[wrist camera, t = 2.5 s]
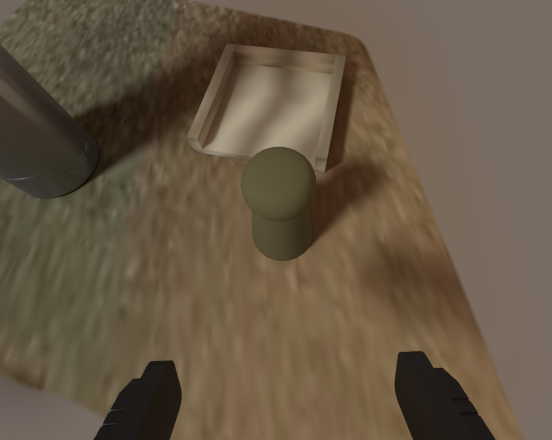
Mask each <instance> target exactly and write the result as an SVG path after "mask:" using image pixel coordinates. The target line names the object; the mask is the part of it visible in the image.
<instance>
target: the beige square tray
mask: <svg viewBox="0 0 552 440" xmlns="http://www.w3.org/2000/svg"><path fill="white" fill-rule="evenodd" d="M345 60H346V56H343V55H334V54H324V53H315V52H305V51H295V50H286V49H276V48H267V47H257V46H247V45H238V44H228V43H227V44H226V46H225V49H224V51H223V53H222V56H221V58H220V60H219V63H218V65H217V68H216V70H215V72H214V75H213V77H212V79H211V82H210V84H209V86H208V89H207V91H206V93H205V96H204V98H203V100H202V103H201V105H200V108H199V110H198V112H197V115H196V117H195V119H194V122H193V124H192V126H191V129H190V131H189V133H188V136H187V139H188V141H189V143H190V145H191V146H192V148H193V150H194V152H199V153H205V154H211V155H217V156H224V157H230V158H236V159H242V160H250V159H251V158H252V157H253V156H254V155H255V154H257V153H259V152H260V151H262V150H264V149H267V148H271V147H287V148H290V149H294V150H295V151H297V152H299V153H300V154H302V155H303V156H305V157H306V158H307V160H308V161H309V162H310V163H311V165H312V167H313V170H314V171H317V172H323V173H325V167H326V162H327V157H328V152H329V146H330V141H331V135H332V130H333V125H334V119H335V114H336V108H337V103H338V98H339V92H340V87H341V81H342V76H343V71H344V65H345Z"/></svg>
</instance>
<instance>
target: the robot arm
mask: <svg viewBox="0 0 552 440" xmlns="http://www.w3.org/2000/svg"><path fill="white" fill-rule="evenodd" d="M98 158H99V148H98V146H97V143H96V142H95V140H94V139H93V138H92V137H91V136H90V135H89V134H88V133H87V132H86V131H85V130H84V129H83V128H82V127H81V126H80V125H79V124H78V123H77V122H76V121H75V120H74V119H73V118H72V117H71V115H70V114H69V113H68V112H67V111H66V110H65V109H64V108H63V107H62V106H61V105H60V104H59V103H58V102H57V101H56V100H55V99H54V98H53V97H52V96H51V95H50V94H49V93H48V92H47V91H46V90H45V89H44V88H43V87H42V86H41V85H40V84H39V83H38V82H37V81H36V80H35V79H34V78H33V77H32V76H31V75H30V74H29V73H28V72H27V71H26V70H25V69H24V68H23V67H22V66H21V65H20V64H19V63H18V62H17V61H16V60H15V59H14V58H13V57H12V56H11V55H10V54H9V53H8V52H7V51H6V50H5V49H4V48H3V47H2V46H1V45H0V178H1V179H2V180H4V181H6V182H8V183H10V184H11V185H13V186H15V187H17V188H19V189H20V190H22V191H24V192H26V193H28V194H30V195H32V196H34V197H38V198H53V197H59V196H61V195H64V194H67V193H69V192H71V191H73V190H74V189H76V188H78V187H79V186H80V185H81V184H83V183H84V182H85V181H86V180H87V179H88V178H89V177H90V175H91V174H92V172H93V171H94V169H95V167H96V165H97V163H98ZM395 393H396V397H397V400H398V403H399V406H400V408H401V411H402V413H403V416H404V418H405V421H406V423H407V426H408V428H409V431H410V433H411V436H412V438H413V440H495V438H494V436H493V435H492V433H491V432H490V430H489V429H488V427H487V426H486V424H485V423H484V421H483V420H482V418H481V417H480V416H479V415H478V412H477V410H476V409H475V407H474V406H473V404H472V403H471V401H469V399H468V397H467V395H466V393H465V392H464V390H463V389H462V387H461V386H460V384H459V383H458V381H457V380H456V379H454V378H453V377H452V376H451V375H450V374H449V373H448V372H447V371H445V370H444V369H443V368H433V366H432V365H431V363H430V361H429V359H428V358H427V356H426V355H425V353H424V352H422V351H413V352H399V354H398V359H397V367H396V374H395ZM181 398H182V392H181V387H180V383H179V379H178V375H177V372H176V368H175V364H174V362H173V361H172V360H170V361H151V362H150V363H149V364H148V365H147V367H146V369H145V371H144V372H143V374H142V376H141V378H138V379H132V381H131V382H130V383H129V384H128V385H127V386H126V387H125V388H124V389H123V390H122V391H121V392H120V393H119V395H118V397H117V399H116V400H115V402H114V404H113V406H112V408H111V411H110V413H108V415H107V417H106V418H105V420H104V422H103V426H102V427H101V428H100V429H99V431H98V433H97V435H96V437H95V438H94V440H170V437H171V434H172V431H173V428H174V425H175V422H176V418H177V415H178V412H179V409H180V405H181Z"/></svg>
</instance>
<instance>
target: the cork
mask: <svg viewBox="0 0 552 440" xmlns="http://www.w3.org/2000/svg"><path fill="white" fill-rule="evenodd" d="M241 190H242V194H243V197H244V200H245V202H246V203H247V205H248V206H249V208H250V209H251V210H252V235H253V239H254V243H255V245H256V246H257V248H258V250H259V251H260V252H261V253H263V254H264V255H265V256H266V257H268V258H271V259H274V260H278V261H287V260H291V259H295V258H297V257H298V256H300V255H301V254H303V253H304V252H305V251H306V250H307V248H308V247H309V246H310V243H311V241H312V238H313V226H312V220H311V214H310V208H309V205H310V204H311V202H312V200H313V197H314V195H315V192H316V175H315V172H314V170H313V167H312V165H311V163H310V162H309V161H308V160H307V158H306V157H305V156H303V155H302V154H300V153H299V152H297V151H295V150H294V149H290V148H287V147H271V148H267V149H264V150H262V151H260V152H259V153H257V154H255V155H254V156H253V157H252V158H251V159H250V160H249V162H248V163H247V164H246V166H245V168H244V170H243V172H242V179H241Z"/></svg>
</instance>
